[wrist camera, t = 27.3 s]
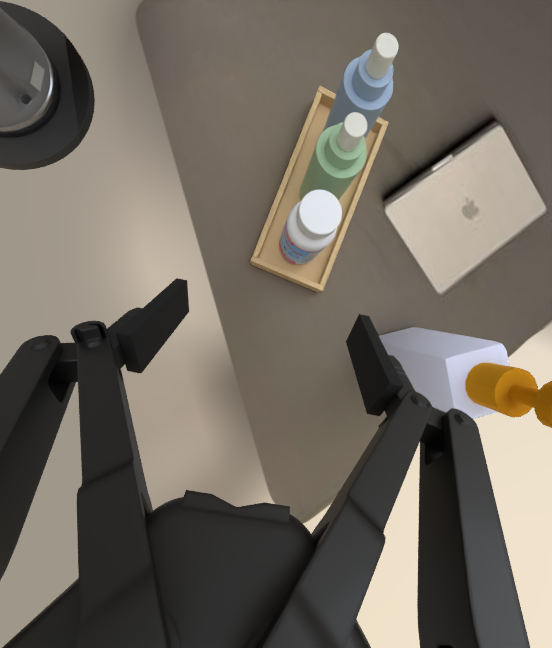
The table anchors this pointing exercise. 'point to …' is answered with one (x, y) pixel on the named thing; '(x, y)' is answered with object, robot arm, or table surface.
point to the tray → (288, 196)
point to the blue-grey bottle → (366, 84)
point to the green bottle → (337, 157)
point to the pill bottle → (310, 227)
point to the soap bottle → (467, 374)
